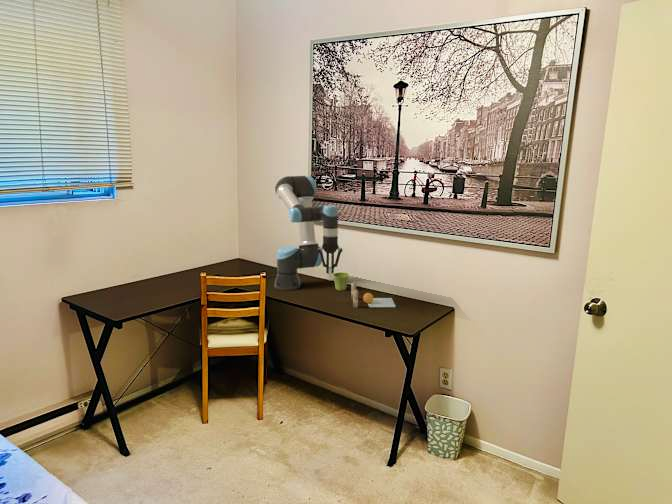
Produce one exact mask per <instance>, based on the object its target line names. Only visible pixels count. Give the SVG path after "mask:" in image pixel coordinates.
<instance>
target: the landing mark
mask: <svg viewBox="0 0 672 504" xmlns="http://www.w3.org/2000/svg"><path fill="white" fill-rule="evenodd" d="M367 306H368V308H396V304H395V302H394V300H393V298H392V297H373V301H372V302H371V303H367Z"/></svg>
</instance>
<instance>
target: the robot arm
mask: <svg viewBox="0 0 672 504" xmlns="http://www.w3.org/2000/svg"><path fill="white" fill-rule="evenodd" d="M274 188H275V189H274V191H275V194H276V195H277V197H278V198H279V199H280V200H281V201H283V203H284V205H285V207H286V208H287V210H288V218H289V221H290V222H291V223H297V224H299V227H298V228H299V235H300V243H299V244H298V248H297V246H295V245H287V246H286V245H285V246H283V247H280V248H279V249H277V251H276V273H277V274H276V277H275V280H274V284H273V285H274V286H273V287H274V289H277V290H278V291H294V290H298V289H299V288H301V281H300V277H299V274H298V269H306V268H307V269H309V268H317V267H319V266H321V265H322V267H324V268H326V270H325V272H326V274H327V276H328V277H327V279H328V281H332V276H333V274H334V273H335V268H338V264H339V262H340V261H339V260H340V257H341V253H343V251H344V250H343V248H342V247H340V246H339V241H338V240H339V239H338V238H339V236H338V235H339V207H338V205H334V204H326V205H325V204H324V205H318V206H313V203H312V201H313V200H314V198H315V196H316V195H317V183H316V181H315V178H314V177H313V176H311V175H295V176H294V175H290V176H287V175H286V176H284V177H282V178H280V179H279V180H278V181H277V183H276V184H275V187H274ZM315 222H323V225H322V226H323V227H322V235H323V236H322V245H321V246H320V245H319V243H318V242H317V241H316V234H315V233H316V231H315V224H314V223H315ZM323 251H324V252H325V254H326V261H325V258H324V257H325V256H324V252H323ZM336 252H337V254H336V255H337V256H336V258H335V253H336ZM330 254H331V256H330ZM330 257H331V262H330ZM330 263H331V266H330Z"/></svg>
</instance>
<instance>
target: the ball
mask: <svg viewBox="0 0 672 504" xmlns="http://www.w3.org/2000/svg"><path fill="white" fill-rule="evenodd" d="M373 298H374V295H373V294H372V293H370V292H366V293H365V294H363V297H362V299H363V302H364V303H366V304H368V303H371V302H372V301H373Z"/></svg>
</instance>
